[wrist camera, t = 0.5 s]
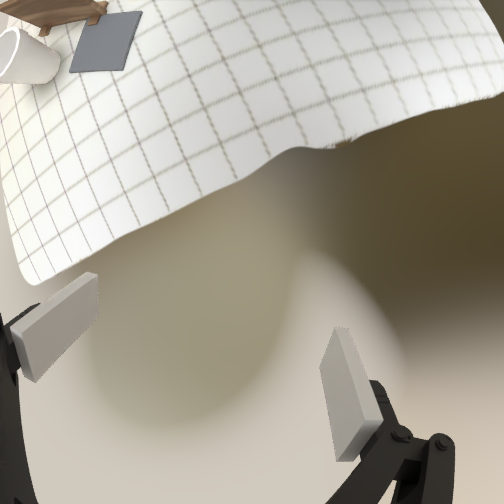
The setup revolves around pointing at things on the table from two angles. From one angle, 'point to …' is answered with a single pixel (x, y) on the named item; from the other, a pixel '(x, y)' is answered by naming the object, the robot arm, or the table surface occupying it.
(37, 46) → the foam cup
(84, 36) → the mat
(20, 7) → the screen
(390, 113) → the table surface
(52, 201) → the table surface
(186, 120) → the table surface
